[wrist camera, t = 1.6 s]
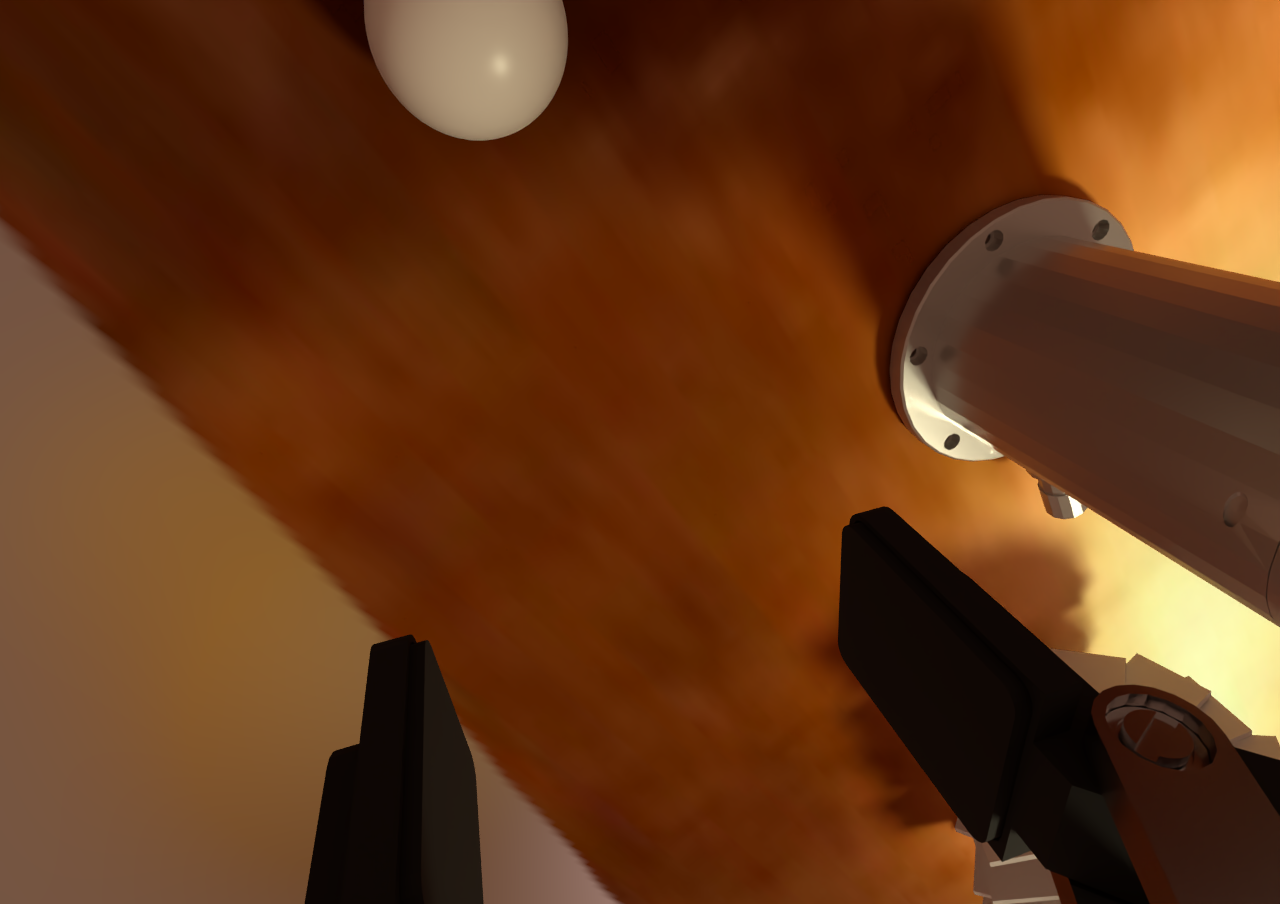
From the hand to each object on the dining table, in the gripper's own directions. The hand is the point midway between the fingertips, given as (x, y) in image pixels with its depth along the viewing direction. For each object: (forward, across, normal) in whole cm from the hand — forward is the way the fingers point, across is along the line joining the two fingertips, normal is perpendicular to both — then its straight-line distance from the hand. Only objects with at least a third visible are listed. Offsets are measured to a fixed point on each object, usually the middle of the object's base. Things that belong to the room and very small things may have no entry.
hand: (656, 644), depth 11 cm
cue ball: (+15, 0, -10) cm, 18 cm away
